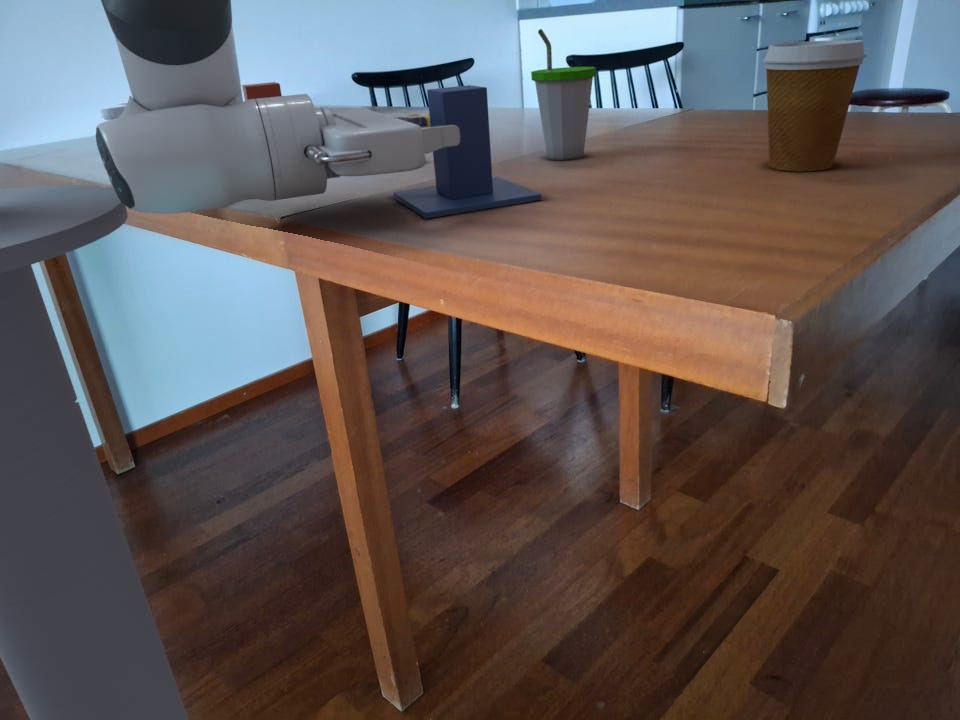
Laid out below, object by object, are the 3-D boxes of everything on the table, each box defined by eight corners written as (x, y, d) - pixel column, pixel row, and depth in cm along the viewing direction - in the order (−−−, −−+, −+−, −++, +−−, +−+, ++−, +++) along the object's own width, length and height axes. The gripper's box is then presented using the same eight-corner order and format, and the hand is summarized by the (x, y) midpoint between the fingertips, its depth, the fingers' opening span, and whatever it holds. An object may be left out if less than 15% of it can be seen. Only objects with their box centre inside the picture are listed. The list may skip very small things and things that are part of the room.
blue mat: (425, 219, 67) (425, 212, 67) (393, 197, 76) (392, 192, 76) (541, 200, 71) (541, 193, 71) (497, 182, 80) (497, 176, 80)
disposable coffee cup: (734, 167, 79) (743, 47, 74) (792, 154, 83) (805, 40, 78) (810, 178, 71) (826, 46, 66) (870, 164, 75) (890, 38, 70)
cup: (581, 149, 96) (580, 25, 89) (606, 157, 89) (607, 23, 83) (526, 156, 94) (520, 29, 88) (546, 165, 87) (542, 29, 81)
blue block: (451, 200, 71) (442, 92, 67) (436, 192, 75) (426, 89, 70) (493, 193, 72) (486, 87, 68) (476, 186, 76) (469, 85, 72)
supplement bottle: (152, 160, 114) (137, 104, 111) (128, 166, 110) (112, 108, 107) (130, 159, 116) (115, 104, 113) (106, 165, 112) (90, 108, 109)
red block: (260, 163, 100) (245, 86, 95) (256, 159, 103) (242, 85, 99) (292, 159, 101) (279, 83, 97) (288, 155, 105) (275, 82, 101)
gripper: (311, 120, 55) (477, 101, 60) (276, 102, 73) (407, 89, 77) (324, 202, 58) (482, 178, 62) (287, 166, 76) (413, 150, 80)
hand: (440, 129), depth 70 cm, fingers open, 8 cm apart
